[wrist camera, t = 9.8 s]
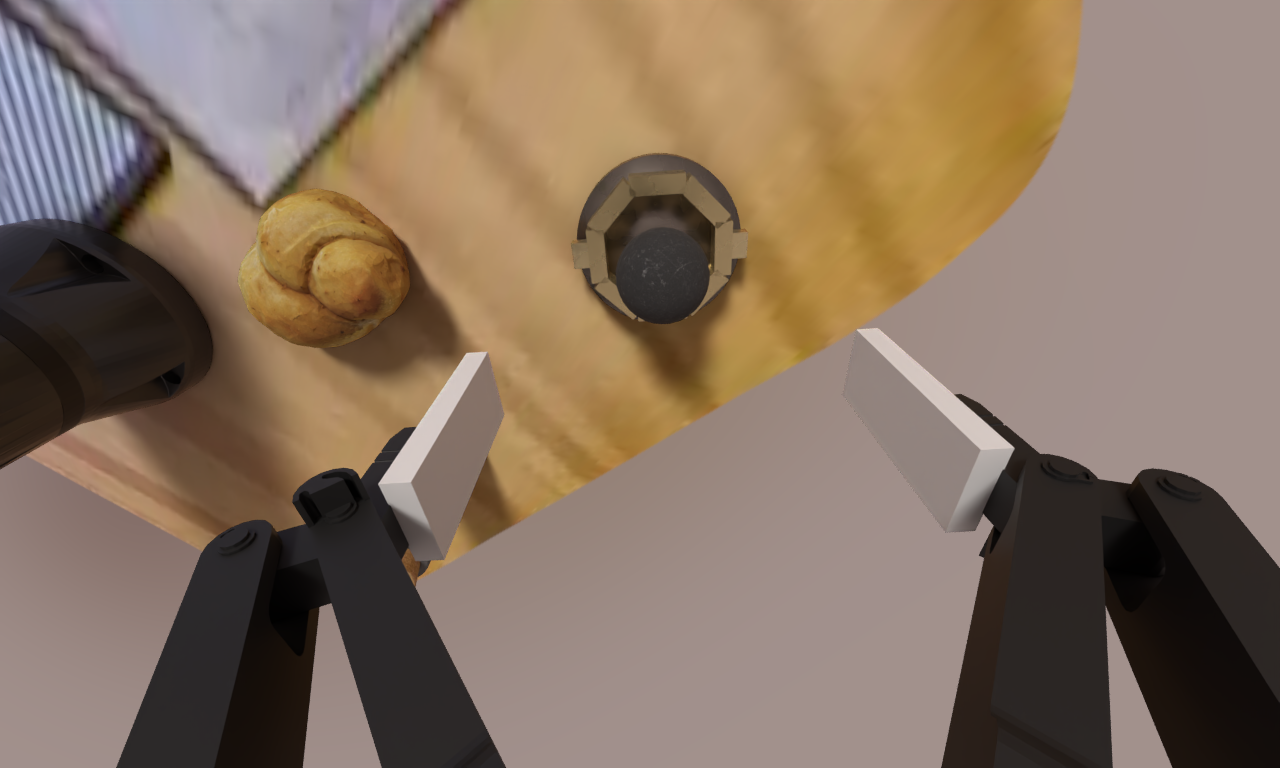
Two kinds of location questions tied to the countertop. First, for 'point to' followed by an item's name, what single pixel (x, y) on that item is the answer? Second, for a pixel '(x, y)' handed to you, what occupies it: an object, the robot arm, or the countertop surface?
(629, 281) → the light bulb
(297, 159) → the countertop surface
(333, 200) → the bread roll
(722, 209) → the octagonal rimmed dish
